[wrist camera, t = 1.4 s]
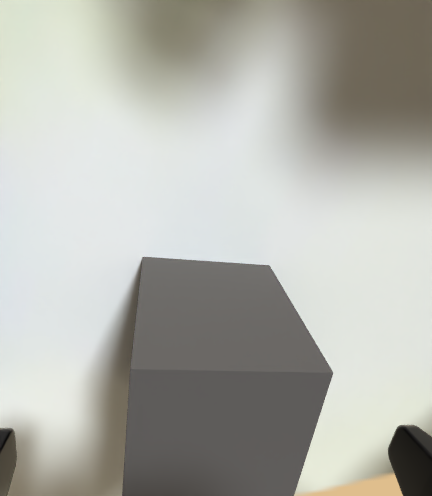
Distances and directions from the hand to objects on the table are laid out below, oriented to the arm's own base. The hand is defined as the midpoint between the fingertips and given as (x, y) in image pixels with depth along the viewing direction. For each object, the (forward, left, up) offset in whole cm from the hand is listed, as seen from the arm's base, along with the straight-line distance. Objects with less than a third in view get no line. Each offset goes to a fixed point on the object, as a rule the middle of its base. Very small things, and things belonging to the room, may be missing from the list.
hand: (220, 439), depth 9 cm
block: (0, 0, -4) cm, 4 cm away
